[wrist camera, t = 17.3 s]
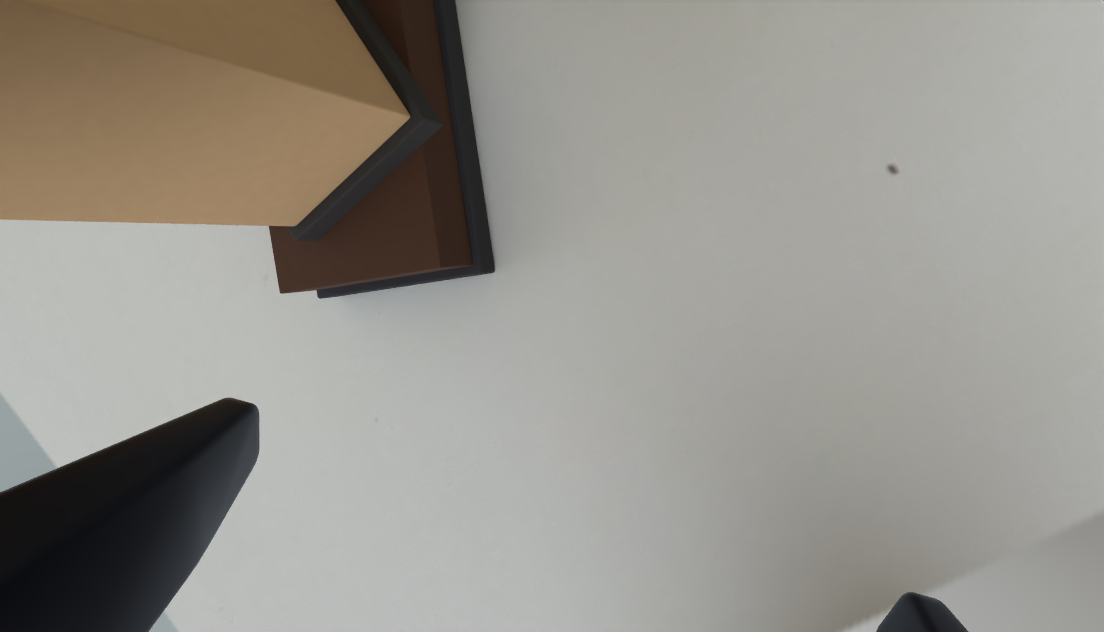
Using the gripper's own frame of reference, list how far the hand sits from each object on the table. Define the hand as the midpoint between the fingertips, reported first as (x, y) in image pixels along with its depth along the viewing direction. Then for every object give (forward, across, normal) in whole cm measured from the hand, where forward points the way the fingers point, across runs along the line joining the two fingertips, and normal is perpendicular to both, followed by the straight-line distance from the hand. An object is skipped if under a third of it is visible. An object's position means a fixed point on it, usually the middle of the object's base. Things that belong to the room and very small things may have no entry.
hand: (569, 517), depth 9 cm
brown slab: (+16, +9, +1) cm, 18 cm away
